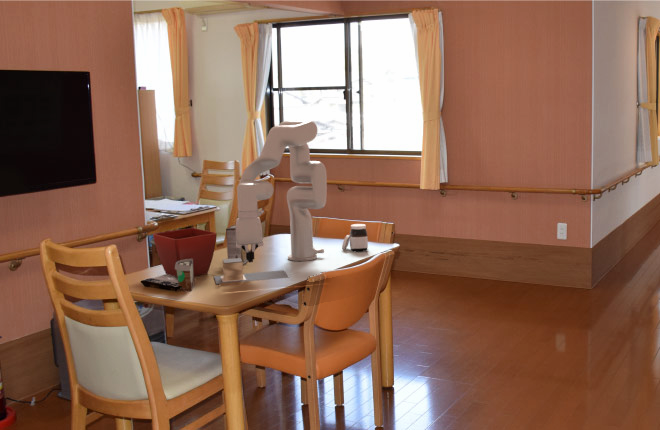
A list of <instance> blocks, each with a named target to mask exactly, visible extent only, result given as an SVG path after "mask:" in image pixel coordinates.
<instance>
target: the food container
mask: <svg viewBox="0 0 660 430" xmlns="http://www.w3.org/2000/svg"><path fill="white" fill-rule="evenodd" d="M175 269H176V270H177V276H178V278H177V282H178V287H179V286H182V288H181V290H180V291H183V292H192V291H193V289H194V286H195V280H194V279H195V278H194V277H195V276H194V275H193V259H185V260H180V261H177V262H176V264H175Z"/></svg>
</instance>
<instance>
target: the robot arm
mask: <svg viewBox="0 0 660 430" xmlns="http://www.w3.org/2000/svg"><path fill="white" fill-rule="evenodd" d="M317 135H318V126H317V124H316V122H315V121H313V120H309V119H306V120H304V119H303V120H301V119H300V120H297V119H296V120H284V121H281V122H280V123H279V125H275V126H273V127H271V128H270V130H269V132H268V134H267V136H266V139H265V141H264V144H263V147H262V149H261V151H260V155H259V156H258V157H256V158H255V159H254V160H253V161H252V162H251V163H249V165H247V167H246V168H245V169H244V170H243V172H242V174H241V176H240V180H239V181H238V182H239V183H238V185H237V186H236V191H237V192H236V194H237V208H238V209H237V213H238V215H237V218H236V221H235V225H236V247H237V248H242V249H243V250H245V251H246V260H248V262H247V263H253V262H254V260H255V251H256V250H257V249H258V248H260V247H262V246H263V247H264V241H263V239H264V238H263V230H262V229H263V227H262V221H261V218H260V217H259V216H261V215H262V211H261V210H258V208H259V207H258V201H266V200H269V199H270V198H272V196H273V194H274V192H275V189H274V186H273V184H272V183H271V182H270V181H267V180H258V179H257V177H259V176H260V175H261V174H263V173H265V172H267V171H270V170H271V169H274V168H276V167H278V166H279V165H280V164H281V161H282V158H283V156H284V152H285V150H286V148H287V147H288V149H289V174H290V180H291V181H292V182H294V183H296V184H311V186H308V185H307V186H306V185H305V186H304V185H295V186H293V187H290V188H289V189H288V190H287V192H286V202H287V207H288V210H289V211H288V212H289V224H290V225H289V226H290V227H289V228H290V248H291V249H290V252H291V253H290V254H288V256H287V259H288V260H289V261H294V262H308V261H312V260H316V259H317V258H318V254H324V253H325V249H324V248H320V247H319V248H315V247H314V242H313V241H314V239H313V237H314V236H313V217H312V214H311V211H310V210H320V209H321V210H322V209H323V208H324V207H325V206H326V203H327V200H328V199H327V197H328V196H327V195H328V194H327V193H328V192H327V191H328V188H327V186H328V183H327V178H328V177H327V169H326V166H325V164H324V163H323V162H321V161H320V160H319V161H317V160H311V155H310V152H311V151H310V147H309V144H308V143H310V142H312V141H314V140H315V138H316V137H317ZM256 179H257V180H256ZM309 209H310V210H309ZM249 245H251V246H250V249H249Z"/></svg>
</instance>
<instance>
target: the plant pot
mask: <svg viewBox="0 0 660 430" xmlns="http://www.w3.org/2000/svg"><path fill="white" fill-rule="evenodd" d="M152 236H153V241H154V245H155V249H156V253H157V254H158V258H159V261H160V264H161V266H162V268H163V270H164V272H165V275H168V276H172V277H174V278H177V279H178V276H177V270H176V269H175V264H176V262H177V261H180V260H185V259H193V275H194V277H196V276H202V275H207V274H208V273H209V272H210V267H211V264H212V262H213V257H214V253H215V248H216V243H217V242H216V241H217V232H214V231H210V230H205V229H200V228H195V227H191V228H184V229H175V230H170V231H162V232H155V233H153V234H152Z"/></svg>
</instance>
